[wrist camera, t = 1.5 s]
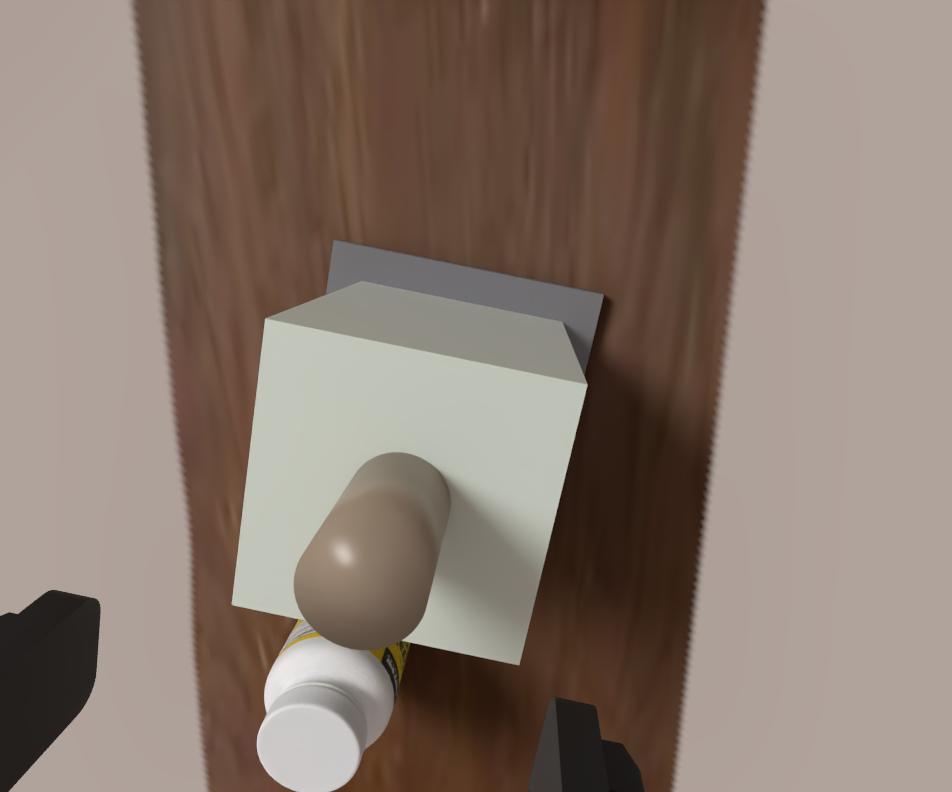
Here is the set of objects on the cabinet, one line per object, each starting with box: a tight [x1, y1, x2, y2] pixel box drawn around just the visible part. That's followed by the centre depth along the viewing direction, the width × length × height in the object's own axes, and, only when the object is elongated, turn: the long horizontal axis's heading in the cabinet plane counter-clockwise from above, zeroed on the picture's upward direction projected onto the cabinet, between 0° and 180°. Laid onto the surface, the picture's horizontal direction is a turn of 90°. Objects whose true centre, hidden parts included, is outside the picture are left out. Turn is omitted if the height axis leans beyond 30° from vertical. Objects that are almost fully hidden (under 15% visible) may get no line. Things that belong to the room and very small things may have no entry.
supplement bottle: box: [257, 619, 410, 792], centre depth 31 cm, size 5×5×10 cm
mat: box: [326, 240, 604, 375], centre depth 32 cm, size 12×12×1 cm
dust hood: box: [232, 281, 588, 665], centre depth 24 cm, size 9×9×17 cm
